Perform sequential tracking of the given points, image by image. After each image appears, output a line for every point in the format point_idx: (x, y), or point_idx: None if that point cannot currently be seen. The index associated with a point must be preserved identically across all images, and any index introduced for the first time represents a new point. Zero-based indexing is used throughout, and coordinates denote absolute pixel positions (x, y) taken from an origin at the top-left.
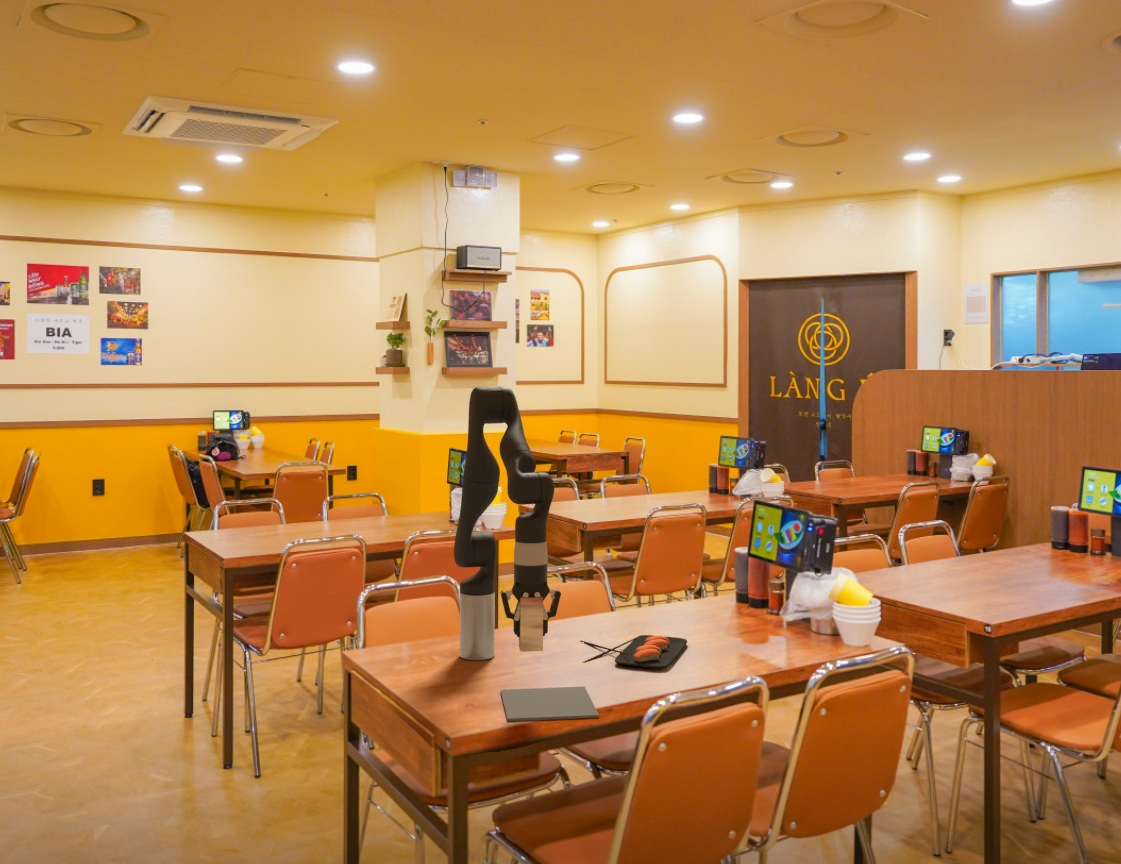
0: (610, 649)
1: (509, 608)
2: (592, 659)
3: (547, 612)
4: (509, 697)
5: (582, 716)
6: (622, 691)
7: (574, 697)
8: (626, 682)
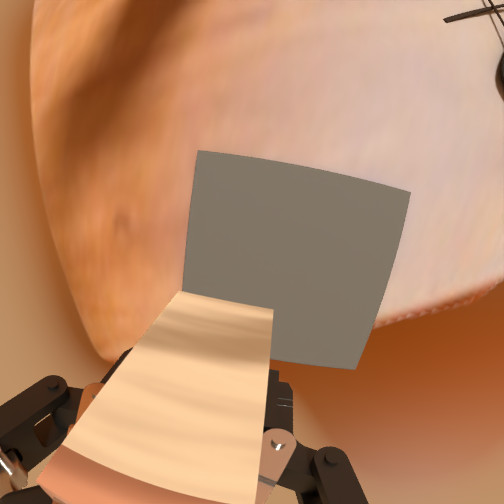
0: (496, 11)
1: (52, 449)
2: (462, 17)
3: (286, 479)
4: (205, 216)
5: (324, 365)
6: (465, 237)
7: (359, 263)
8: (491, 184)
